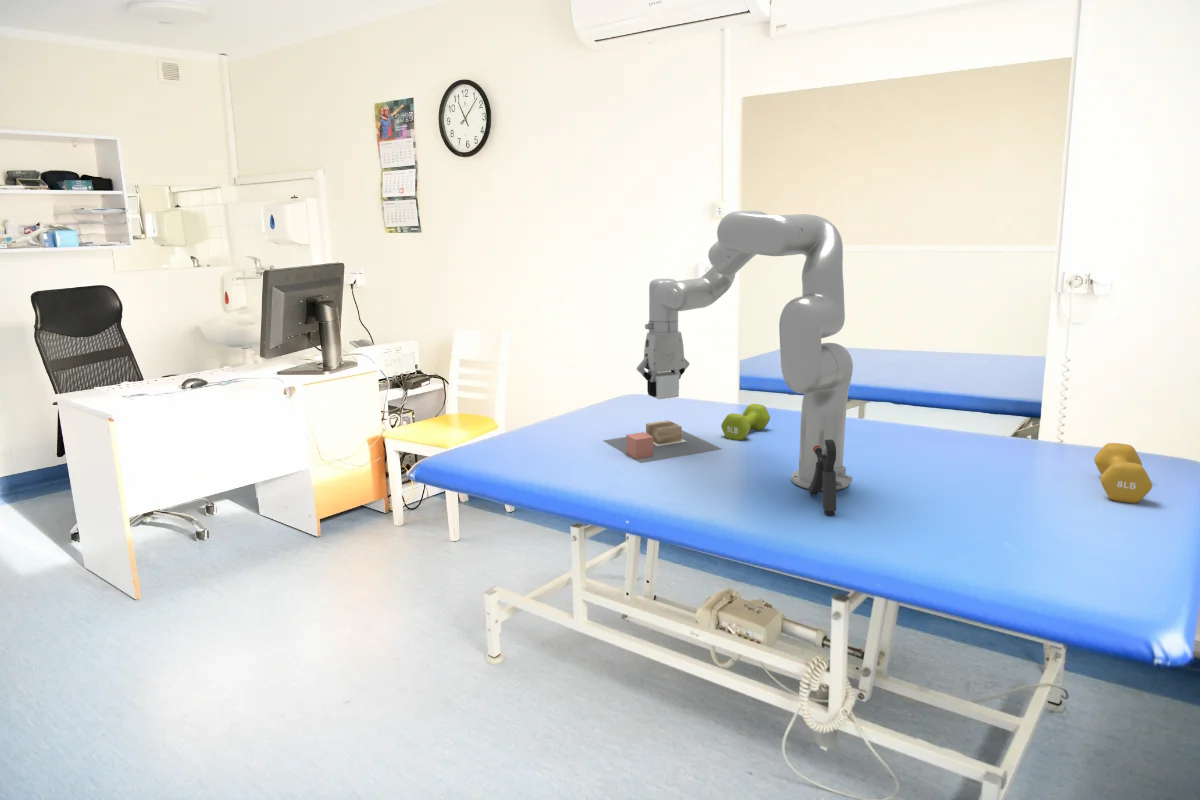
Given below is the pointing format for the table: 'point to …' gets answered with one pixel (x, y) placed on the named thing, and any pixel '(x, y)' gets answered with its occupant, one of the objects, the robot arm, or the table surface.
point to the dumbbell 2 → (1122, 473)
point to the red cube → (639, 445)
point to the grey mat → (668, 448)
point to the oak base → (664, 432)
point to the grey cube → (666, 385)
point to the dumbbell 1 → (745, 422)
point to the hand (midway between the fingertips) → (663, 393)
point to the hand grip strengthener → (825, 476)
